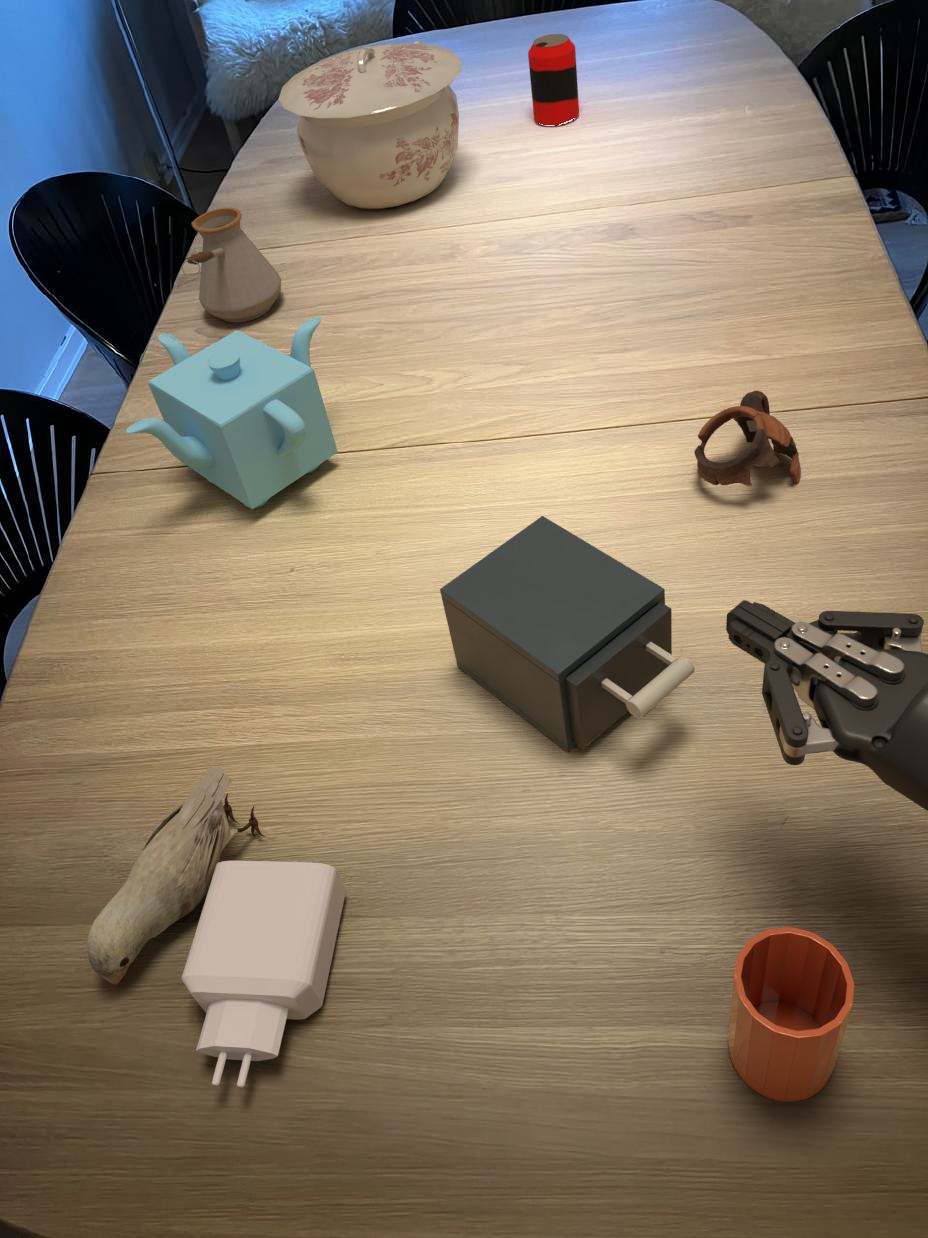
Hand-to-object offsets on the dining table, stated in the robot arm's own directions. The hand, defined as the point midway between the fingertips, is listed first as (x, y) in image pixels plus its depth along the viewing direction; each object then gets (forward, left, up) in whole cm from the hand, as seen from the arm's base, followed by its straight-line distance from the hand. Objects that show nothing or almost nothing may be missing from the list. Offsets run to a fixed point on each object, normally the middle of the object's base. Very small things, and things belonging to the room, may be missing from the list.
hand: (734, 615), depth 66 cm
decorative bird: (+42, +4, -19) cm, 46 cm away
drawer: (+9, -11, -18) cm, 23 cm away
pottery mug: (-11, -37, -19) cm, 43 cm away
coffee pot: (+46, -82, -19) cm, 96 cm away
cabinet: (+11, -14, -19) cm, 26 cm away
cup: (+1, +20, -19) cm, 28 cm away
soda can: (-3, -135, -19) cm, 136 cm away
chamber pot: (+25, -118, -19) cm, 122 cm away
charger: (+35, +12, -19) cm, 42 cm away
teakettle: (+41, -50, -19) cm, 68 cm away
